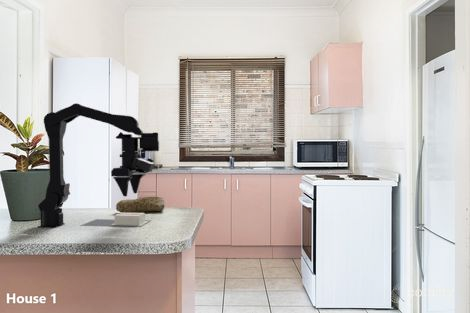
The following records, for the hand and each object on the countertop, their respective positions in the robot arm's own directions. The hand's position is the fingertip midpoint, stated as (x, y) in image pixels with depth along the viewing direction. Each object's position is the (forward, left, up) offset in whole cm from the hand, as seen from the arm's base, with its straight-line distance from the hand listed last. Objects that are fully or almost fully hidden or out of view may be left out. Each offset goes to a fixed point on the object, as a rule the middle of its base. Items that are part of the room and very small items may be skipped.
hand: (130, 194), depth 138 cm
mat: (-5, 0, -11) cm, 12 cm away
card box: (0, 0, -10) cm, 10 cm away
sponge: (-6, +26, -11) cm, 29 cm away
